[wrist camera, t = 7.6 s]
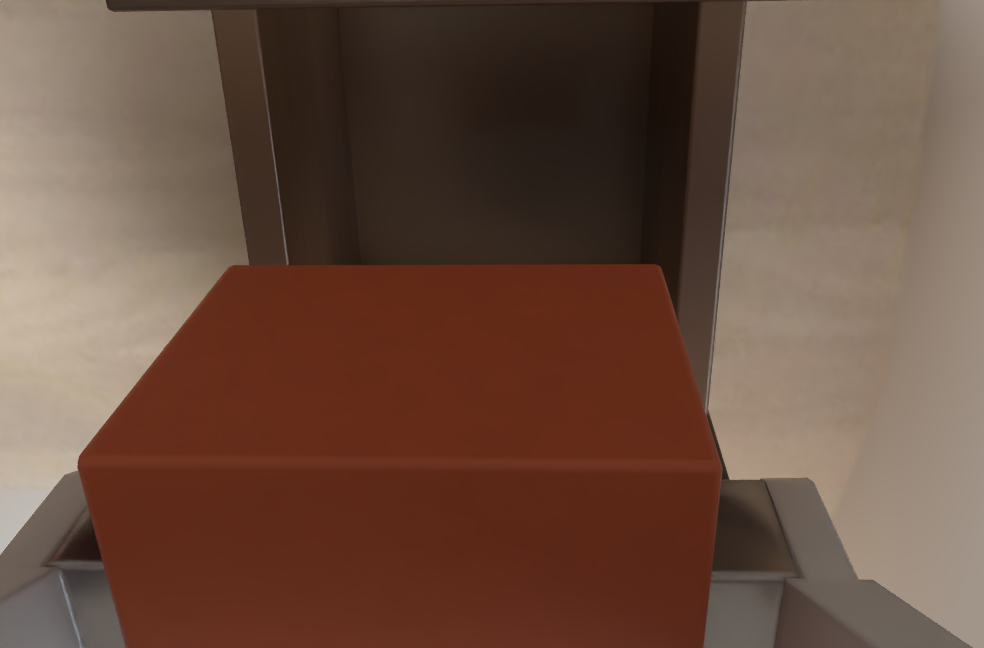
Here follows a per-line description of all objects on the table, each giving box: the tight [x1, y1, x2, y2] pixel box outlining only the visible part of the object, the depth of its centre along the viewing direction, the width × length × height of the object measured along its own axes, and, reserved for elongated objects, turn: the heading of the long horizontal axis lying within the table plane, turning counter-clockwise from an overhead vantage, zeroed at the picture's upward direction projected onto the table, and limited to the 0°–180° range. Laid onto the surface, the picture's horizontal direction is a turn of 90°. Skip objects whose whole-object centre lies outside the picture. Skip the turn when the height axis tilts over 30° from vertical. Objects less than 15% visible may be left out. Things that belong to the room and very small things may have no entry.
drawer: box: [211, 1, 747, 480], centre depth 21 cm, size 18×10×8 cm, turn 1°
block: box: [78, 264, 723, 648], centre depth 10 cm, size 5×5×4 cm
